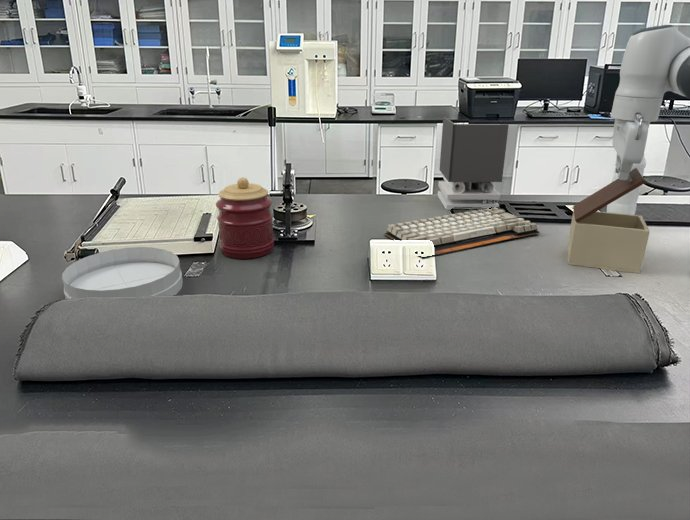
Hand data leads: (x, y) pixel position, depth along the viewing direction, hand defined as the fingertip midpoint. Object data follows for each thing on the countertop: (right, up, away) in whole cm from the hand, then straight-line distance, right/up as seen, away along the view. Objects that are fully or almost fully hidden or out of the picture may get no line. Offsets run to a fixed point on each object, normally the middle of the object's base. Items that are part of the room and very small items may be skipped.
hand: (620, 176), depth 116 cm
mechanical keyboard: (-30, -12, +23) cm, 39 cm away
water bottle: (+14, -9, +29) cm, 34 cm away
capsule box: (-1, -18, +8) cm, 20 cm away
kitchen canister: (-84, -16, +13) cm, 86 cm away
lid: (-2, -4, +2) cm, 5 cm away
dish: (-104, -24, -8) cm, 108 cm away
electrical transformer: (-22, 0, +51) cm, 56 cm away
